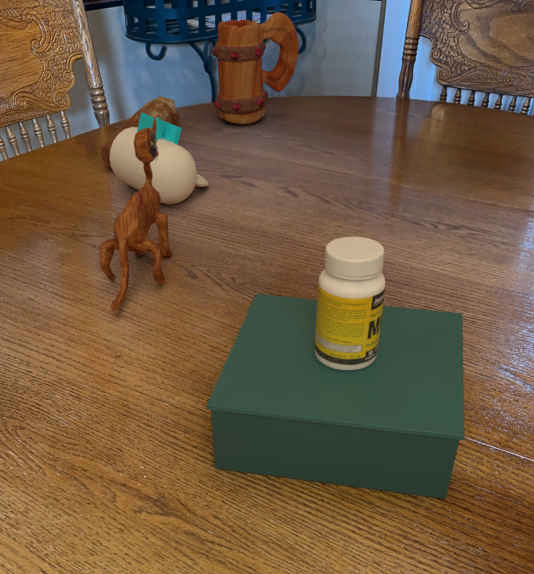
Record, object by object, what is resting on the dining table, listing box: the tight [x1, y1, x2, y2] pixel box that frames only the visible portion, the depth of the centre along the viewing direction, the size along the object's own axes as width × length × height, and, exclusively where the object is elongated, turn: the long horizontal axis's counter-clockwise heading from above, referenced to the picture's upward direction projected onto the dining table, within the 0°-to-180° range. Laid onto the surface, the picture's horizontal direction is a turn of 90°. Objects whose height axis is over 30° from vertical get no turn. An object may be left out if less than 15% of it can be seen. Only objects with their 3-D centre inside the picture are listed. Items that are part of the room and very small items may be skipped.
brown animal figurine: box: [98, 118, 174, 312], centre depth 70 cm, size 18×7×14 cm, turn 172°
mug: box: [211, 11, 300, 126], centre depth 113 cm, size 15×8×15 cm, turn 112°
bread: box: [100, 96, 180, 168], centre depth 104 cm, size 6×19×6 cm, turn 161°
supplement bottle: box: [315, 236, 387, 370], centre depth 50 cm, size 5×5×8 cm
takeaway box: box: [205, 293, 465, 500], centre depth 55 cm, size 18×16×6 cm
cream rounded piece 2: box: [110, 112, 209, 205], centre depth 91 cm, size 12×9×12 cm
